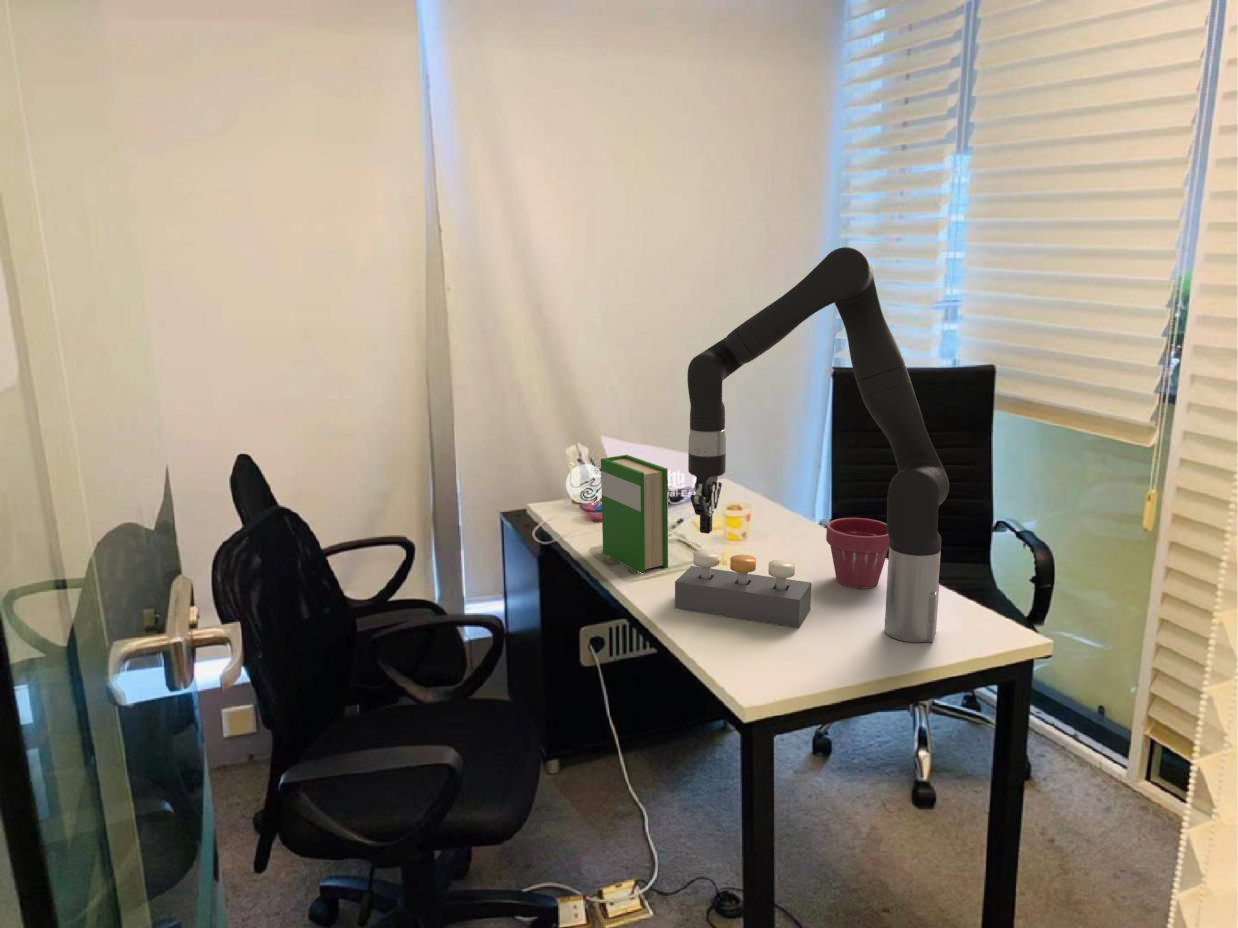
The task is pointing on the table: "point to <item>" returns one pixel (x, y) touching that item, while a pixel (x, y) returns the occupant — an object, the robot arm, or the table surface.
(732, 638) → the table surface
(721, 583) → the control block
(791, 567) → the near knob
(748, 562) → the middle knob
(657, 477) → the hardback book
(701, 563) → the far knob
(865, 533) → the plant pot
